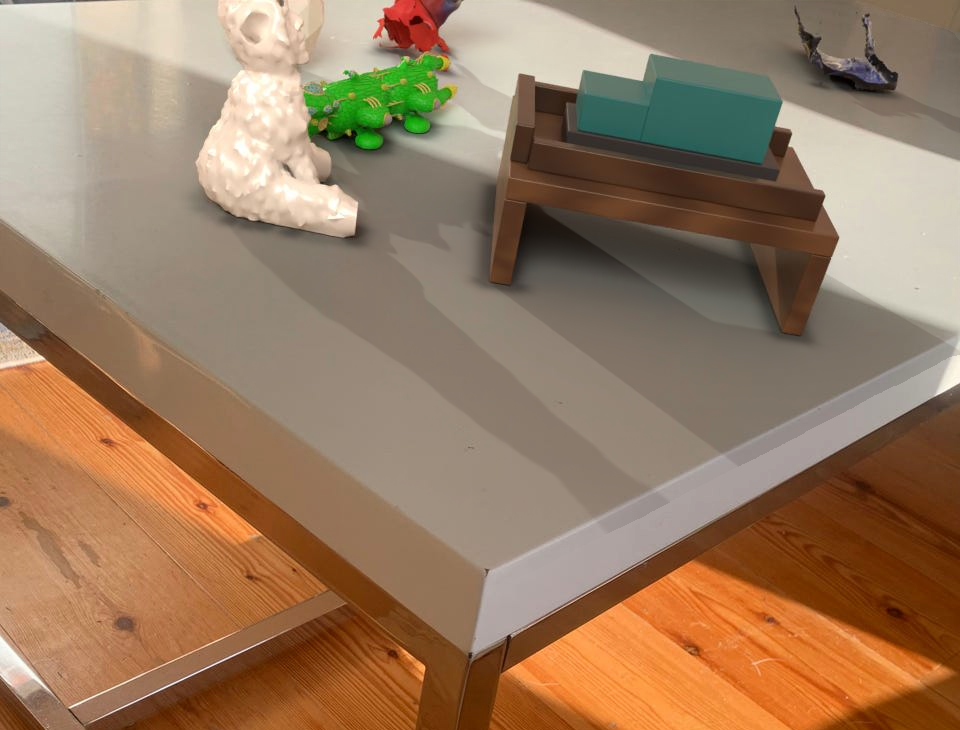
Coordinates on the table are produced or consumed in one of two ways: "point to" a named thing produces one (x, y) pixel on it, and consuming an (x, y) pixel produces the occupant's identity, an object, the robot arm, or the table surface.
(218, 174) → the white creature statuette
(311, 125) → the crocodile figurine
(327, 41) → the table surface
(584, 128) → the teal stepped block
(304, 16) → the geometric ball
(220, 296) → the table surface
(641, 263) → the table surface
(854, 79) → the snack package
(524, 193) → the shoe shelf
